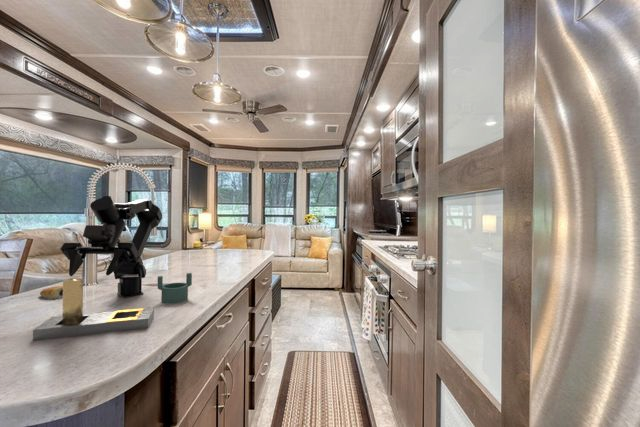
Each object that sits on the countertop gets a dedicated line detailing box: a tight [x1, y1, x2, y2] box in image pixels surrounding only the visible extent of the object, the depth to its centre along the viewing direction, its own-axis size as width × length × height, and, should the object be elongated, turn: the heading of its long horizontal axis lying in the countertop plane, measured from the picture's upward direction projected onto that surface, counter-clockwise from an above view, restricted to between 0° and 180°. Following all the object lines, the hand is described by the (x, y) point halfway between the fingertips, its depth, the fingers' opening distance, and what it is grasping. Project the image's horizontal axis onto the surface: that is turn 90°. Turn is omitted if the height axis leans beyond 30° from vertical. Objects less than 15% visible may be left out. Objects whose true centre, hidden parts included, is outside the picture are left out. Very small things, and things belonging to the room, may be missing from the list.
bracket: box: [157, 272, 193, 305], centre depth 103 cm, size 9×9×9 cm
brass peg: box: [62, 277, 84, 325], centre depth 76 cm, size 4×4×13 cm
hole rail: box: [32, 307, 155, 341], centre depth 78 cm, size 24×9×3 cm, turn 111°
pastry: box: [39, 285, 63, 300], centre depth 105 cm, size 9×7×4 cm
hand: (88, 275), depth 83 cm, fingers open, 9 cm apart
